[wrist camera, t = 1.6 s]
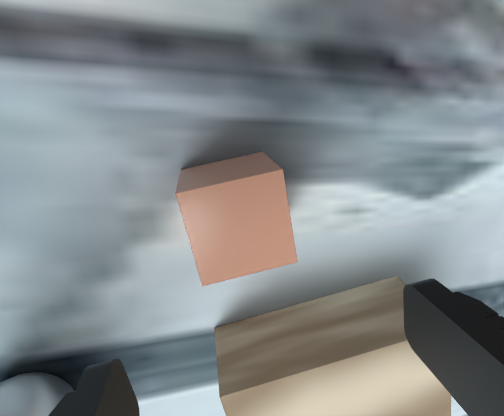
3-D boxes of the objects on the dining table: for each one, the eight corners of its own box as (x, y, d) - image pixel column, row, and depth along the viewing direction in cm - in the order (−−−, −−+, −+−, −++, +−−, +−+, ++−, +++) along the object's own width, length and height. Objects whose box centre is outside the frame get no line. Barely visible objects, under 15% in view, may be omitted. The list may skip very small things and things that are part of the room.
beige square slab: (214, 324, 23) (219, 397, 18) (394, 273, 25) (452, 326, 19) (253, 449, 28) (267, 536, 23) (401, 402, 30) (449, 474, 24)
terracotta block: (180, 169, 19) (175, 193, 15) (262, 151, 20) (282, 169, 15) (200, 243, 21) (202, 286, 16) (275, 225, 21) (297, 262, 17)
